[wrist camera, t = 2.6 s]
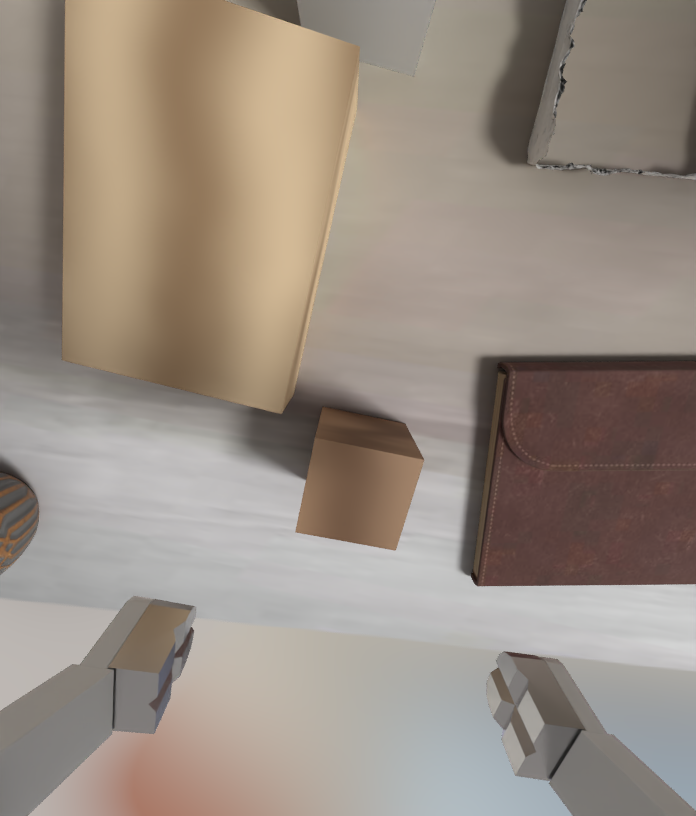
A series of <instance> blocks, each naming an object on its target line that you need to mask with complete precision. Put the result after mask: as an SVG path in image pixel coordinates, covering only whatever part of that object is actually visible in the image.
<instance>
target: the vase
mask: <svg viewBox="0 0 696 816" xmlns="http://www.w3.org/2000/svg"><path fill="white" fill-rule="evenodd" d="M38 522H39V507H38V502H37V499H36V497H35V495H34V493H33V492H32V491H31V489H30V488H29V487H28V486H27V485H26V484H24V483H23V482H22V481H20V480H19V479H17V478H15V477H13V476H11V475H8V474H5V473H2V472H0V575H1V574H2V573H3V572H4V571H6V570H7V569H8V568H9V567H10V566H11V565H12V564H13V563H14V562H15V561H16V560H17V559H18V558H19V557H20V556H21V555H22V553H23V552H24V551H25V549H26V548H27V547H28V545H29V544H30V542H31V540H32V539H33V537H34V535H35V533H36V530H37V526H38Z"/></svg>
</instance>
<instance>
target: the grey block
mask: <svg viewBox="0 0 696 816" xmlns="http://www.w3.org/2000/svg"><path fill="white" fill-rule="evenodd" d="M435 2H436V0H297V5H298V11H299V17H300V23H301V27H304V28H307V29H310V30H313V31H316V32H318V33H321V34H324V35H327V36H330V37H333V38H336V39H339V40H342V41H345V42H348V43H351V44H354V45H357V46H360V57H359V61H361V62H364V63H368V64H371V65H375V66H378V67H382V68H385V69H389V70H392V71H396V72H399V73H403V74H406V75H410V76H413V77H414V75H415V71H416V68H417V64H418V61H419V57H420V54H421V50H422V47H423V43H424V40H425V36H426V33H427V30H428V26H429V23H430V19H431V16H432V12H433V9H434V5H435Z"/></svg>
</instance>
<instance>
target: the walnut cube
mask: <svg viewBox="0 0 696 816" xmlns="http://www.w3.org/2000/svg"><path fill="white" fill-rule="evenodd" d="M423 462H424V458H423V457H422V455H421V453H420V451H419V449H418V447H417V445H416V443H415V441H414V440H413V438H412V436H411V434H410V432H409V430H408V428H407V426H406V424H404V423H399V422H394V421H390V420H385V419H380V418H375V417H371V416H366V415H361V414H356V413H352V412H347V411H342V410H337V409H333V408H328V407H322V411H321V415H320V419H319V423H318V427H317V431H316V435H315V440H314V445H313V449H312V454H311V459H310V464H309V469H308V474H307V479H306V483H305V488H304V493H303V498H302V503H301V508H300V512H299V517H298V522H297V527H296V532H297V533H303V534H308V535H314V536H319V537H325V538H330V539H336V540H341V541H347V542H352V543H357V544H363V545H368V546H374V547H379V548H385V549H390V550H396V548H397V545H398V542H399V538H400V535H401V532H402V529H403V526H404V523H405V519H406V516H407V513H408V510H409V507H410V504H411V500H412V497H413V494H414V491H415V488H416V485H417V481H418V478H419V475H420V472H421V469H422V466H423Z"/></svg>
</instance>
